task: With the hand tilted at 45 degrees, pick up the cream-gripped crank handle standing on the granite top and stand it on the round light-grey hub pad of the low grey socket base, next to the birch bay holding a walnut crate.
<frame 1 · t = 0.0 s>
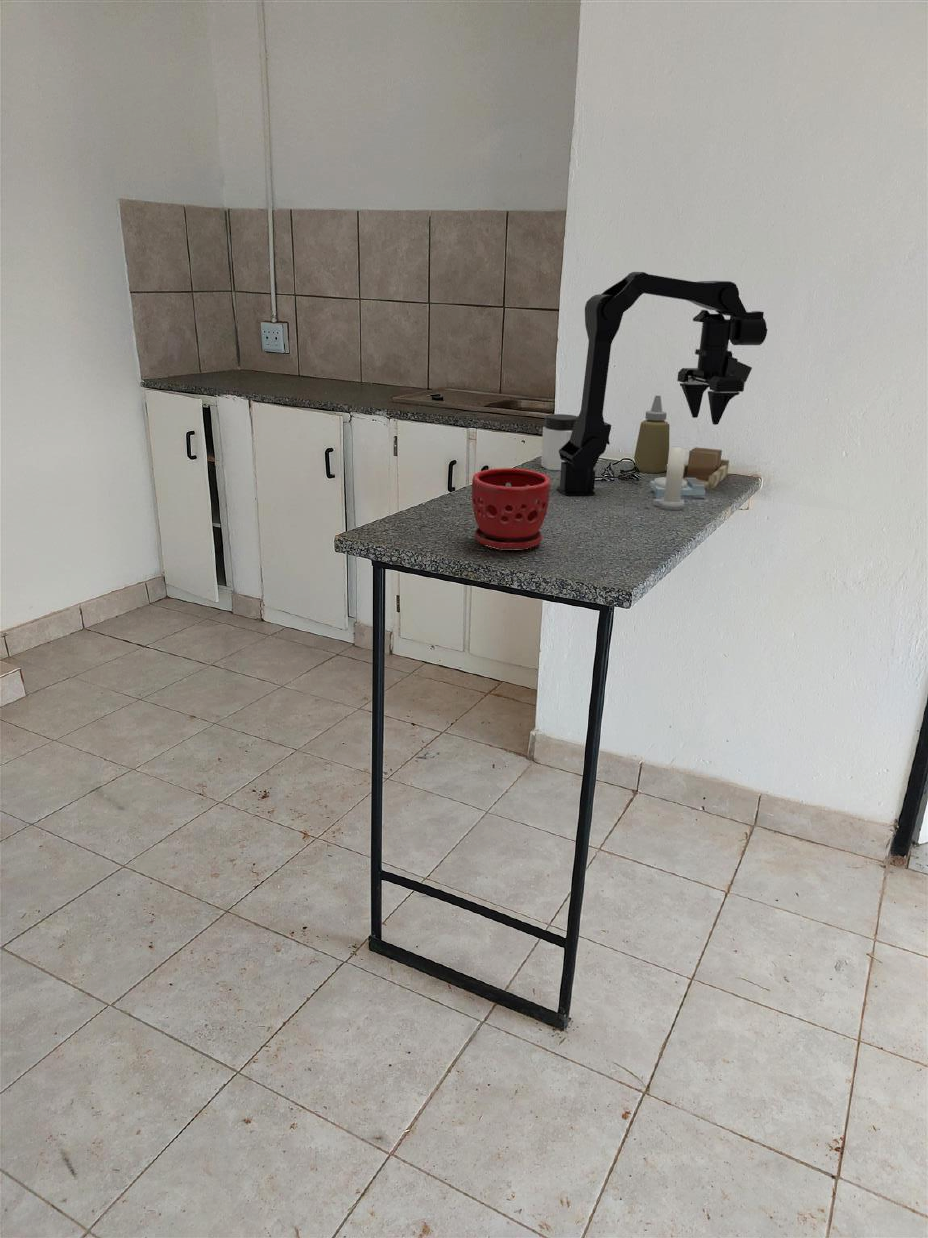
hand: (704, 420, 192), 15 cm above the table, tool pointing down, fingers open, 9 cm apart
jar: (559, 468, 215), on the table
grey socket base: (676, 494, 192), on the table
bay: (699, 483, 202), on the table
plant pot: (508, 545, 154), on the table
crate: (702, 476, 204), point 1 cm above the table, touching bay
crank handle: (671, 507, 181), on the table
squeeze bottle: (649, 474, 210), on the table
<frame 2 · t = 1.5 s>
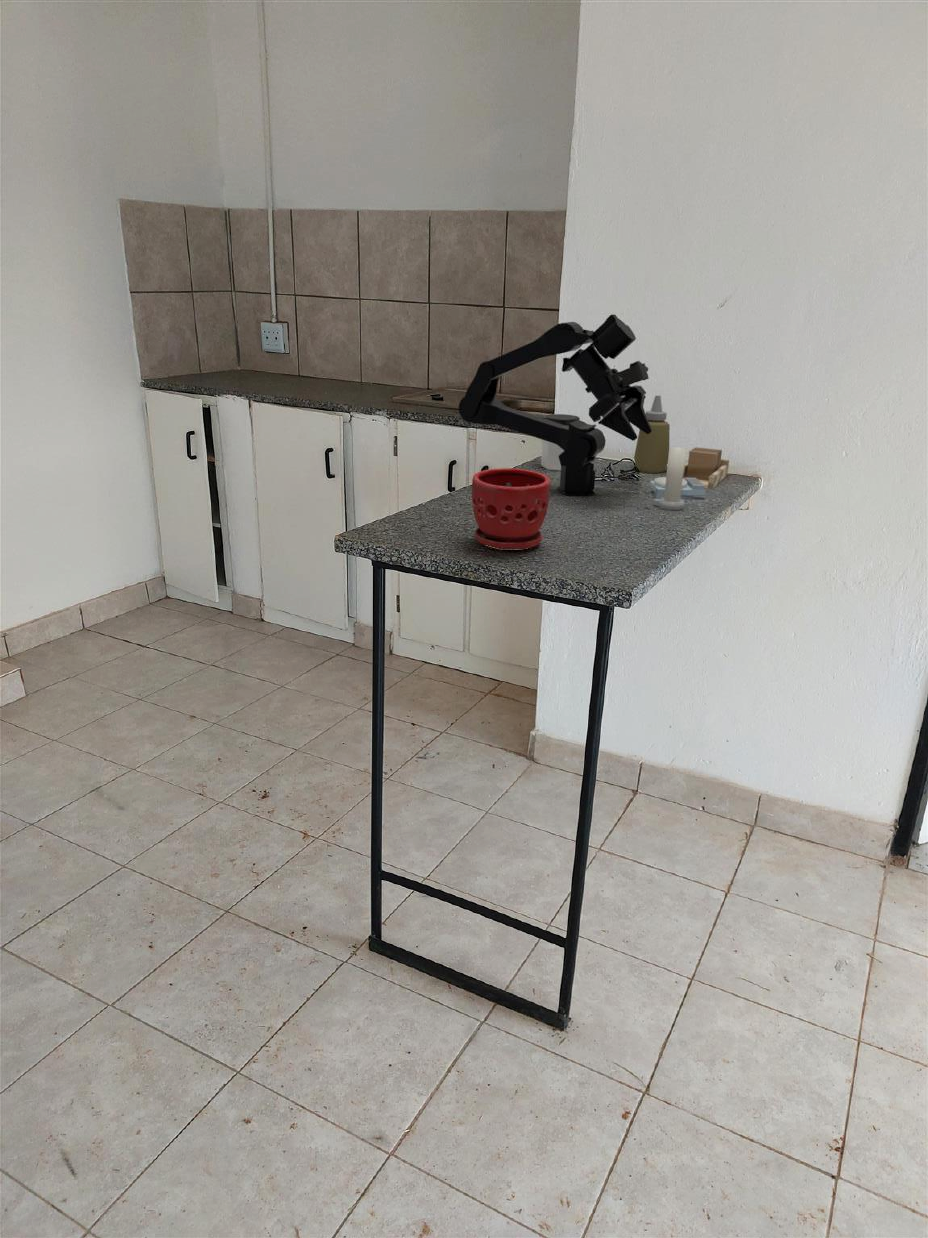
hand: (643, 435, 181), 13 cm above the table, tool tilted 45°, fingers open, 9 cm apart
nothing on the table moved.
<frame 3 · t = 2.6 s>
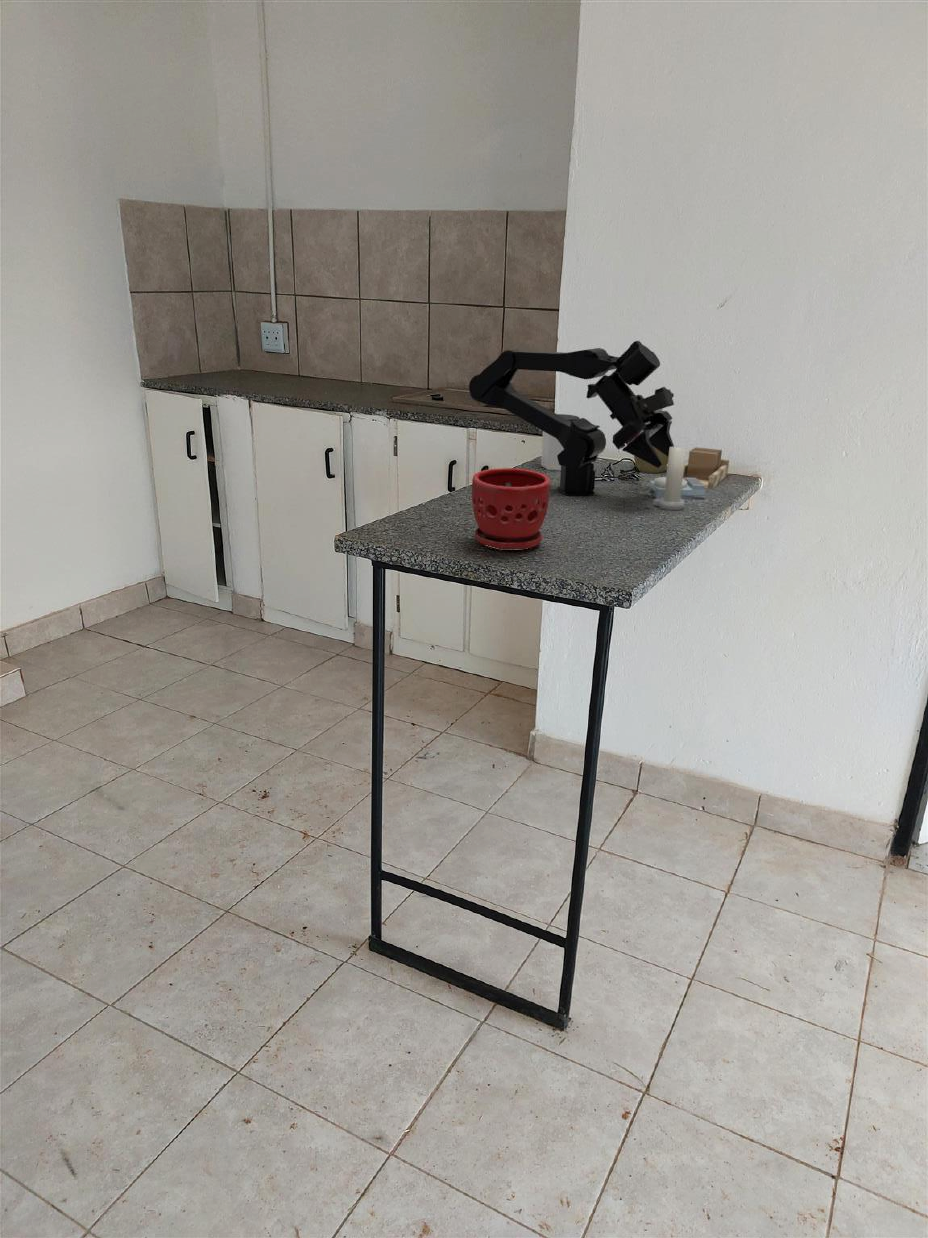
hand: (668, 462, 179), 9 cm above the table, tool tilted 45°, fingers open, 9 cm apart
nothing on the table moved.
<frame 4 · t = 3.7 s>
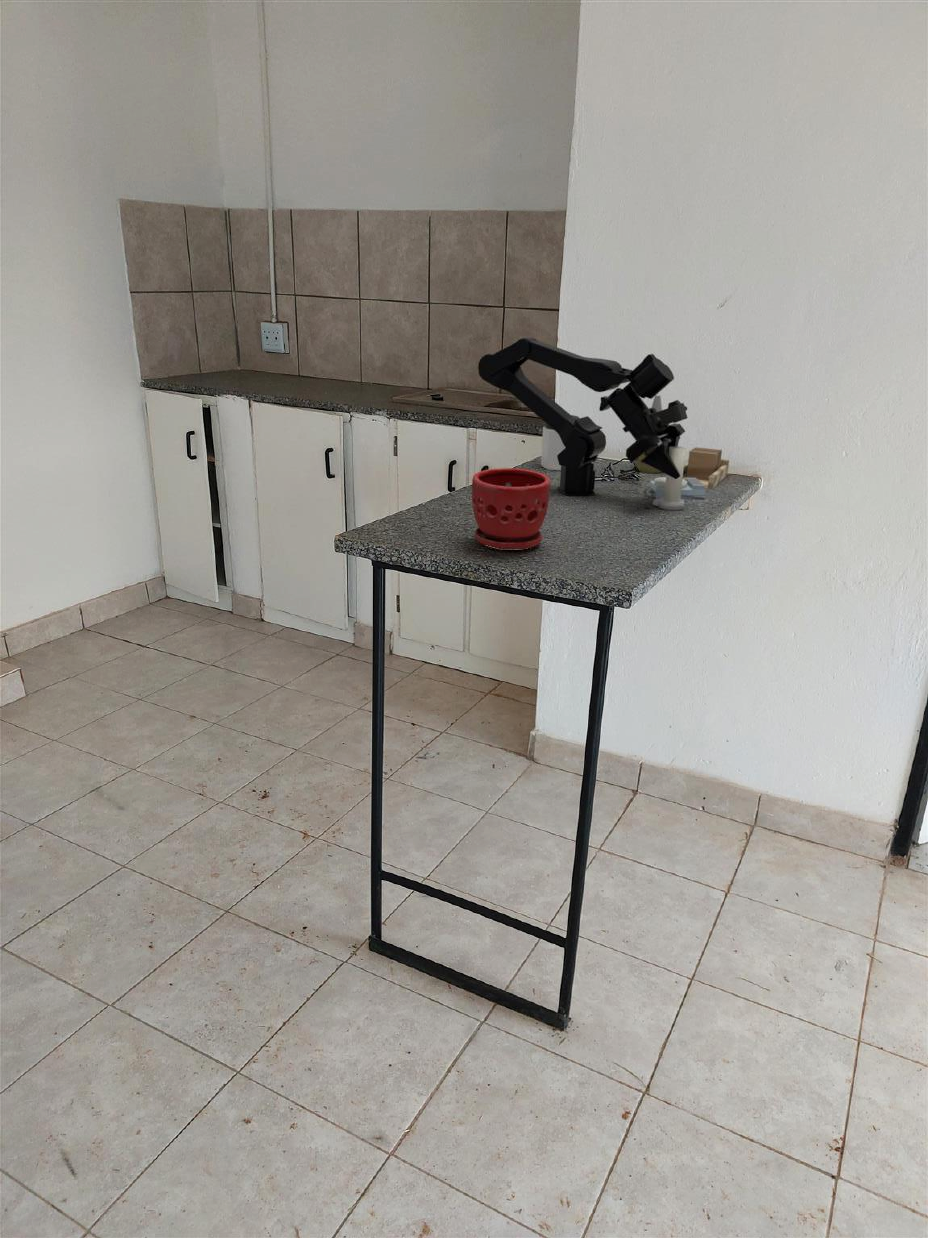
hand: (681, 475, 178), 7 cm above the table, tool tilted 45°, fingers closed on crank handle, 3 cm apart
crank handle: (671, 507, 181), on the table, touching gripper
everything else where it was.
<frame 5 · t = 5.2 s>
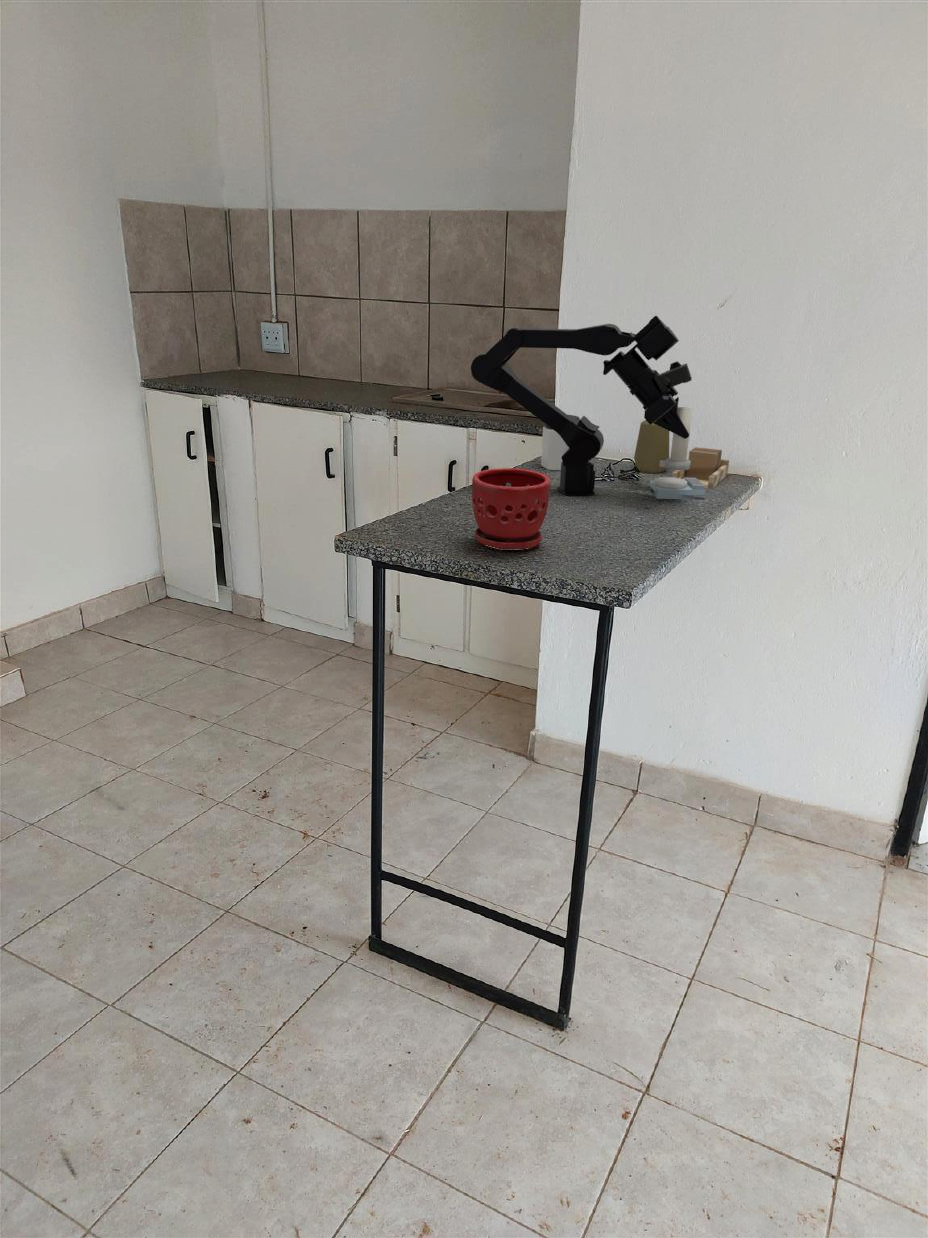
hand: (687, 435, 182), 13 cm above the table, tool tilted 45°, fingers closed on crank handle, 3 cm apart
crank handle: (677, 467, 184), point 7 cm above the table, touching gripper
everything else where it was.
when the fingers open (10 cm above the table, at t = 6.4 s): crank handle stays where it is, resting on grey socket base.
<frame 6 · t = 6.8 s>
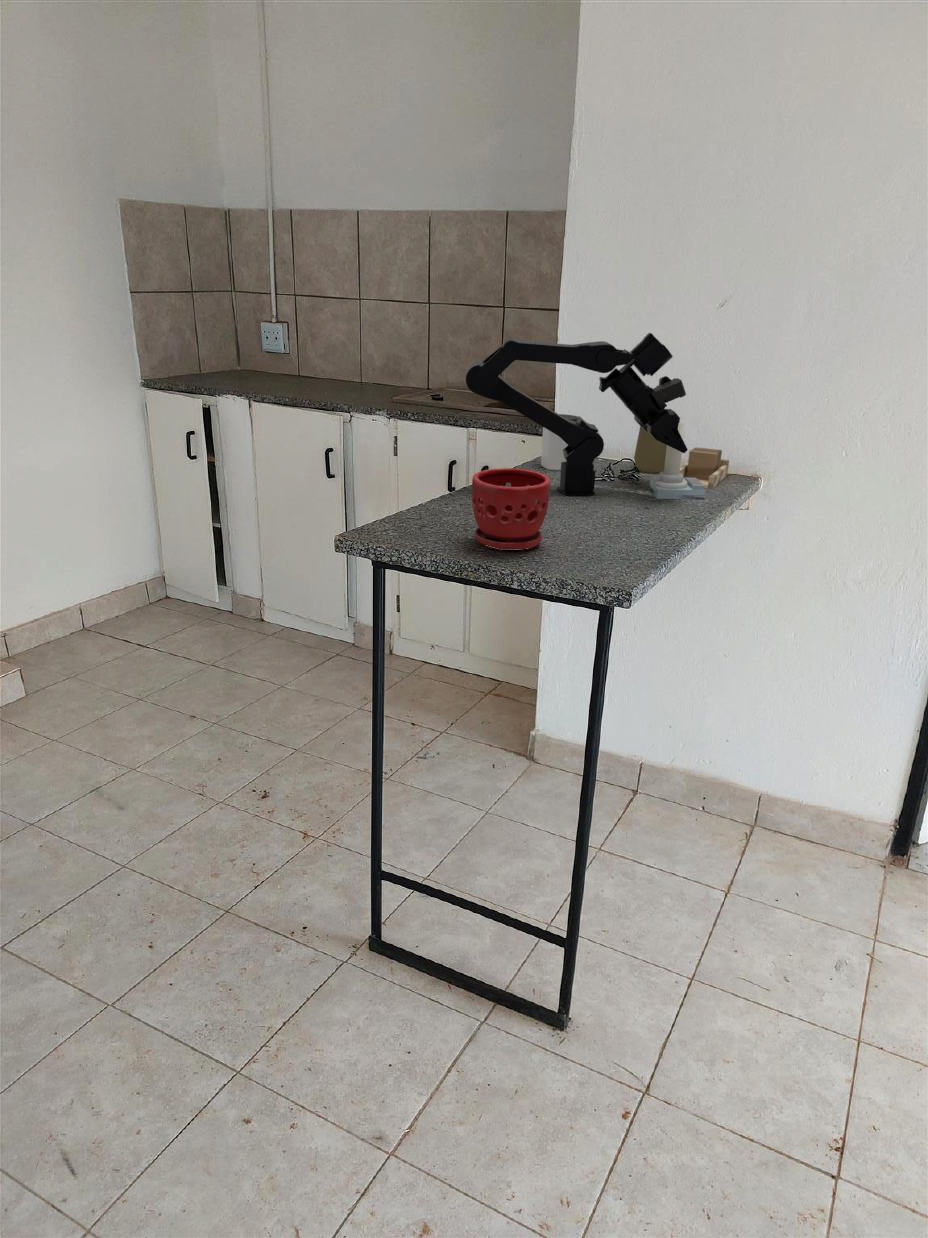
hand: (681, 447, 188), 10 cm above the table, tool tilted 45°, fingers open, 8 cm apart
crank handle: (670, 480, 190), point 3 cm above the table, touching grey socket base
everything else where it was.
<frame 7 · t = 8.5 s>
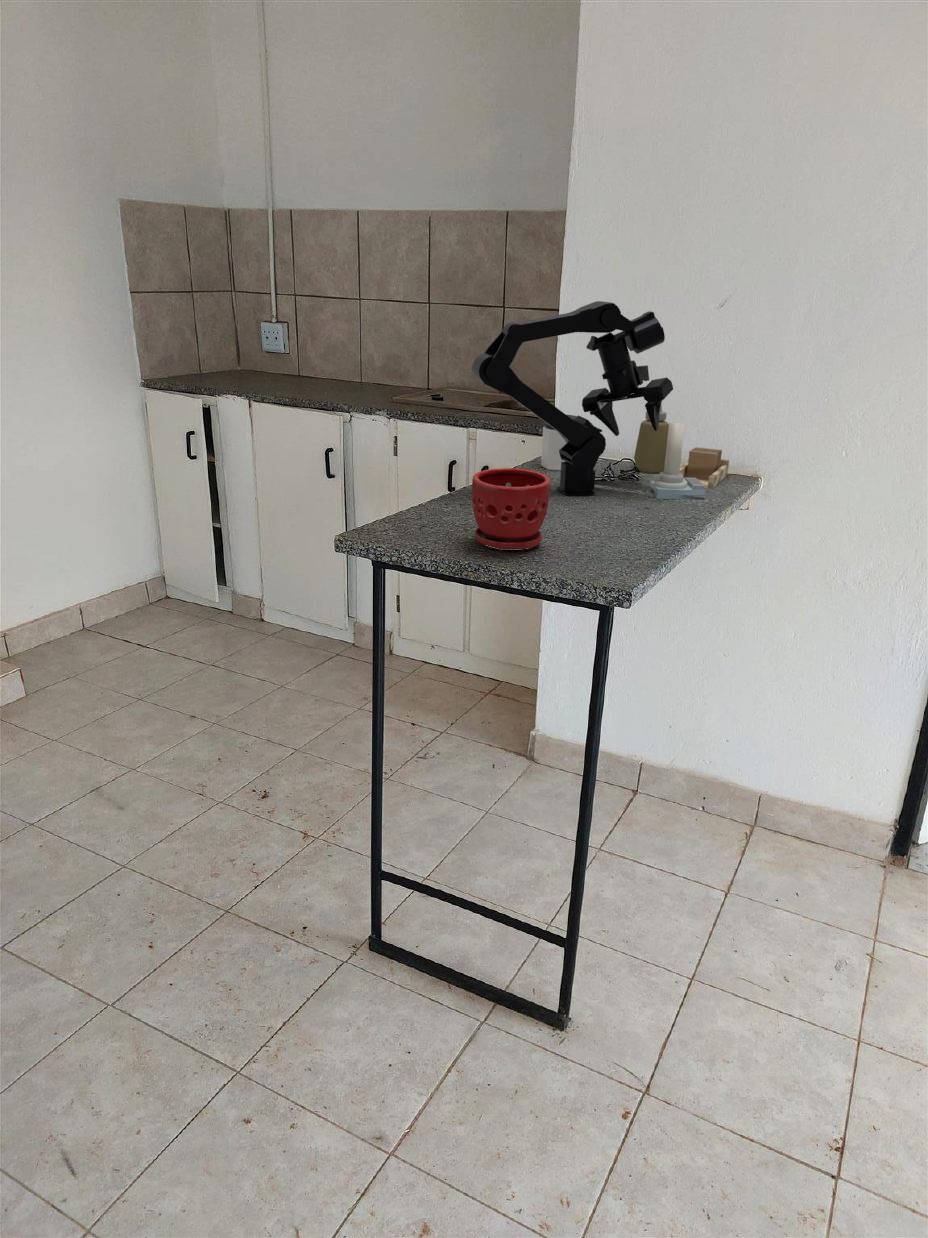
hand: (636, 432, 190), 12 cm above the table, tool tilted 25°, fingers open, 9 cm apart
nothing on the table moved.
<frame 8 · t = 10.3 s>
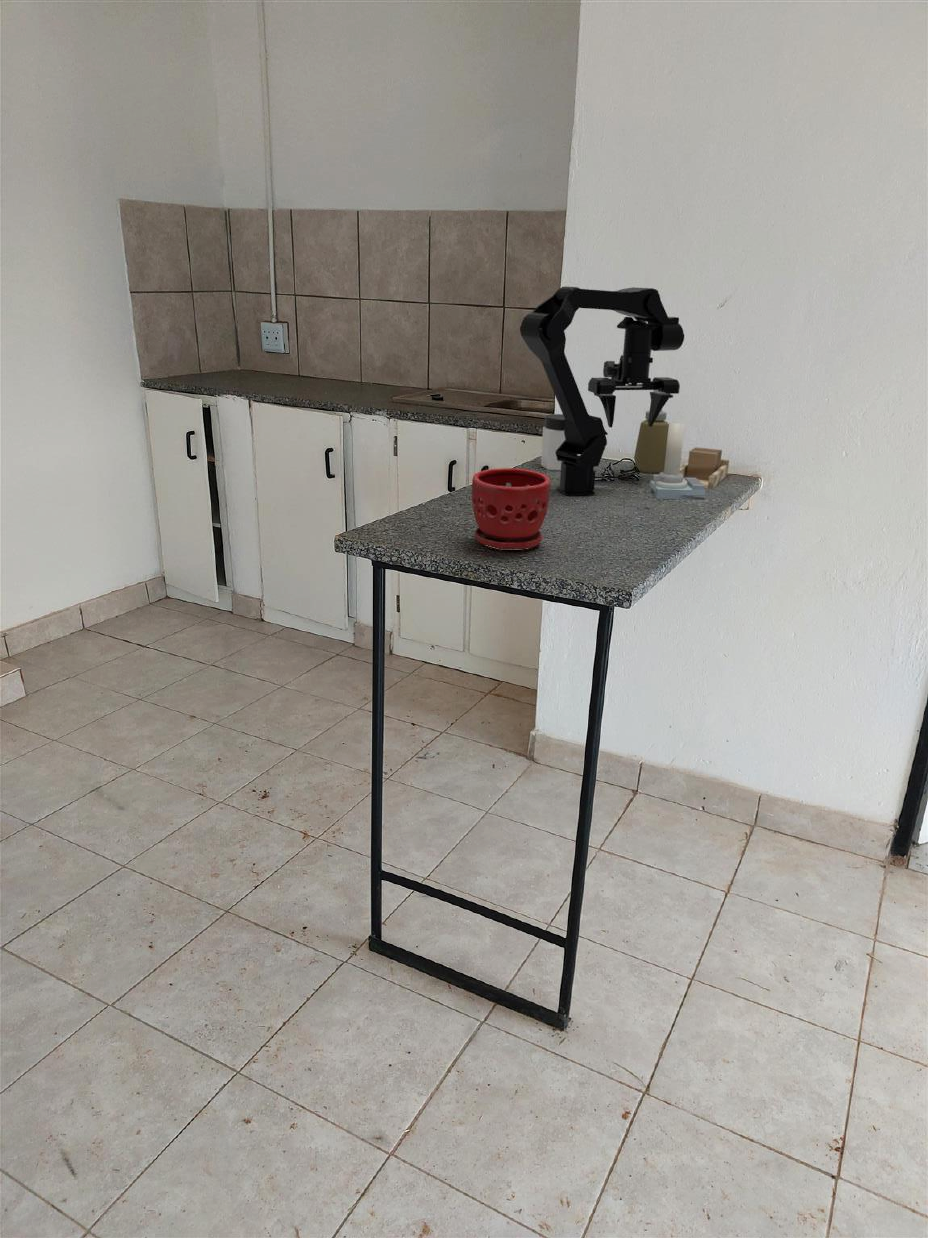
hand: (630, 426, 193), 13 cm above the table, tool pointing down, fingers open, 9 cm apart
nothing on the table moved.
at the end: crank handle inside the target area on the grey socket base (0.1 cm from its centre), point 3.0 cm above the grey socket base's base; crank handle tilted 0°; the gripper is holding nothing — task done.
